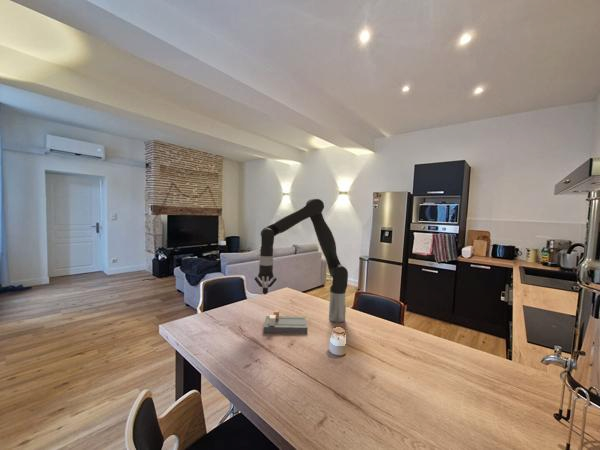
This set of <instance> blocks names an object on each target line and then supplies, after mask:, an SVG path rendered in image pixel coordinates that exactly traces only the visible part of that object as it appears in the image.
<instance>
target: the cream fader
mask: <svg viewBox="0 0 600 450" xmlns="http://www.w3.org/2000/svg"><path fill="white" fill-rule="evenodd" d="M269 316H270V320H269V326H275V321H276V315H274V314H270V315H269Z"/></svg>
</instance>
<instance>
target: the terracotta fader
mask: <svg viewBox="0 0 600 450" xmlns="http://www.w3.org/2000/svg"><path fill="white" fill-rule="evenodd" d="M273 315H276V319H279V316H280V309H279V308H273Z"/></svg>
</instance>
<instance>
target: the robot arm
mask: <svg viewBox="0 0 600 450" xmlns="http://www.w3.org/2000/svg"><path fill="white" fill-rule="evenodd" d="M324 209H325V204H324V201H323V200H321V199H320V198H311V199H308V200H307V201H306V204H305V205H304V206H303V207H302V208H300V209H298V210H297V211H294V212H292V213H290V214H288V215H286V216H283V218H281V219H279V220H277V221H276V222H274V223H272V224H270V225H267V226H266V227H263V229H262V230H261V232H260V237H261V240H260V241H261V244H260V245H261V246H260V250H259V251H260V254H259V267H258V269H259V270H258V271H259V272H258V275H256V276H255V277H254V280H255V282H256V284H258V286H259V287H260V288H262V294H263V295H267V294H268V292H269V288H271V287H272V286H273V285H274V284H275V282H277V279H278V278H277V277H275V275H274V272H273V271H274V243H275V237H276V236H277V235H279V234H282V233H285V232H286V231H288V230H290V229H292V228H293V227H294V226H297V225H298V224H300V223H301V222H303V221H305V220H307V219H310V221H311V222H312V225H313V229H314V232H315V235H316V238H317V241H318V243H319V247H320V249H321V251H322V254H323V256H324V257H325V261H326V264H327V268H328V272H329V275H330V277H331V278H332V284H331V285H330V287H329V307H328V309H329V311H328V320H329V321H330V322H332V323H335V324H337V323H338V324H340V323H343V322H346V311H347V309H346V308H347V306H346V292H347V291H346V290H347V287H348V282H349V281H348V279H349V273H348V269H347V268H346V267H345V266H343V265H342V264H341V261H340V260H339V257H338V255H337V254H338V253H337V244H336V239H335V237H334V234H333V232H332V230H331V229H330V226H329V225H328V223H327V222H326V221H325V218H324V216H323V213H322V212H323V211H324ZM269 282H270V283H269Z"/></svg>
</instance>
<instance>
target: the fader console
mask: <svg viewBox="0 0 600 450" xmlns="http://www.w3.org/2000/svg"><path fill="white" fill-rule="evenodd" d="M269 320H270V315H266V316H265V319H264V324H263V333H265V334H266V333H267V334H269V333H270V334H271V333H272V334H273V333H275V334H308V323H307V316H298V315H297V316H295V315H293V316H292V315H290V316H286V315H279V319H276V321H275V326H269Z"/></svg>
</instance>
